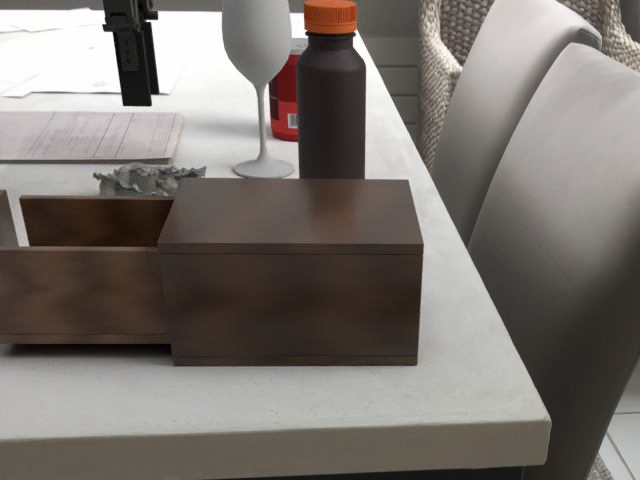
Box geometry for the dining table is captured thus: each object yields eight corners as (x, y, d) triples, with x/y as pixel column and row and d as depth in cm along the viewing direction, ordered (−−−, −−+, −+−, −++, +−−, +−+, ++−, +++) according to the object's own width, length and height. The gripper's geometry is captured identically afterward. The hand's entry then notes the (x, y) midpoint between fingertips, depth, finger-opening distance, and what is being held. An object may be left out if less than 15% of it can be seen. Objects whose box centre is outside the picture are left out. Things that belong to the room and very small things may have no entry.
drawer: (-129, 352, 66) (-166, 250, 62) (-67, 280, 77) (-94, 188, 72) (199, 351, 68) (188, 251, 63) (216, 280, 78) (208, 190, 74)
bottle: (374, 214, 96) (378, 1, 83) (348, 234, 91) (349, 11, 78) (317, 205, 98) (312, -5, 85) (288, 224, 92) (280, 4, 80)
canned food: (341, 135, 120) (341, 44, 113) (296, 145, 116) (292, 51, 109) (304, 123, 124) (302, 35, 118) (259, 133, 120) (254, 41, 113)
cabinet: (173, 366, 68) (157, 242, 62) (195, 287, 79) (183, 177, 73) (417, 365, 69) (424, 243, 63) (403, 288, 80) (408, 179, 75)
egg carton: (93, 212, 94) (86, 173, 91) (125, 190, 100) (119, 152, 97) (188, 222, 92) (184, 181, 90) (215, 199, 98) (211, 160, 96)
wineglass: (230, 161, 109) (215, -39, 97) (293, 159, 111) (286, -39, 98) (234, 180, 103) (218, -30, 91) (299, 178, 105) (293, -30, 92)
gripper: (130, -199, 69) (167, 122, 83) (162, -195, 82) (189, 80, 97) (30, -202, 68) (85, 121, 83) (80, -197, 82) (119, 79, 96)
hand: (141, 98), depth 90 cm, fingers open, 4 cm apart
